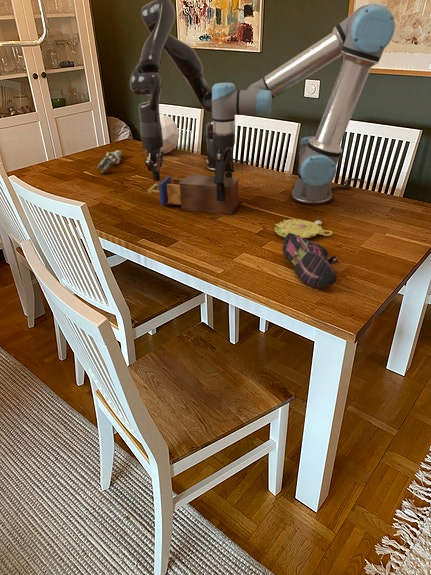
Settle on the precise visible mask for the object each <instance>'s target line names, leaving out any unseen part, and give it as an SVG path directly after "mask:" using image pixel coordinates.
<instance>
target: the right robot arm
mask: <svg viewBox="0 0 431 575" xmlns="http://www.w3.org/2000/svg"><path fill="white" fill-rule="evenodd" d="M395 29H396V20H395V18H394V15H393V13H392V12H391V10H389V9H388V8H387V7H386V6H385V5H382V4H377V3H371V4H365V5H362V6H360V7H358V8H357V9H355V10H354V11H353V12H352V13H351V14H350V15H349V16H347V17H346V18H345V19H344V20H342V21H341V22H340V23H338V24H337V25H335V26H334V27H333V29H332V32H330V33H329V34H327V35H326V36H325V37H323V38H322V39H320V40H318V41H317V42H315V43H314V44H312V45H311V46H309V47H308V48H306V49H305V50H303V51H302V52H300V53H299V54H297V55H296V56H293V57H292V58H290V60H288V61H287V62H285V63H283V64H281V65H280V66H279V67H277V68H275V69H274V70H273V71H271V72H270V73H268V74H267V75H265V76H264V77H263V78H261V79H259V80H257V81H256V82H253V83H251V84H250V85H249V86H248V87H247V88H246V89H242V90H240V89H236V85H235V84H234V83H233V82H217V83H215V84H213V86H212V88H211V89H212V114H213V122H212V123H211V125H213V132H214V134H213V144H214V145H215V146H217V147H218V148H219V150H218V152H217V154H216V155H215V158H216V163H215V171H214V176H215V180H214V183H216V185H217V201H225V186H224V177H229V178H233V173H235V172H236V170H235V163H234V160H233V159H234V152H233V148H234V147H233V146H234V145H235V144H236V133H235V132H236V116H268V115H270V114H271V113H272V100H273V99H274V98H276V97H277V96H280V95H281V94H282V93H284V92H285V91H287V90H289V89H290V88H292V87H293V86H295V85H296V84H298V83H300V82H301V81H303V80H305V79H306V78H308V77H309V76H312V75H313V74H314V73H316V72H317V71H319V70H321V69H322V68H324V67H325V66H327V65H329V64H331V63H332V62H334V61H335V60H337V59H339V58H340V57H343V60H342V63H341V65H340V69H339V71H338V74H337V76H336V79H335V82H334V85H333V88H332V90H331V93H330V96H329V98H328V100H327V103H326V107H325V109H324V112H323V114H322V117H321V120H320V123H319V125H318V128H317V130H316V133H315V135H314V136H313V135H312V136H304V137H302V138H301V139H300V142H299V143H300V144H299V157H298V168H297V178H296V181H295V184H294V185H292V187H291V189H292V192H291V199H292V200H293V201H295V202H296V203H298V204H303V205H311V206H317V205H323V204H327V203H329V202H331V201H332V198H333V194H332V193H333V192H332V190H340V189H343V190H349V189H351V188H352V185H351V184H350V183H349V182H352V181H359V182H360V183H363V182H364V181H363V179H361V178H358V177H352V178H349V179H346V180H344V181H343V185H344V186H332V187H331V183H332V182H333V181H334V179H335V177H336V174H337V165H338V163H339V160H340V158H341V155H342V152H343V149H342V146H341V143H342V141H343V138H344V136H345V133H346V130H347V128H348V126H349V123H350V120H351V118H352V116H353V113H354V111H355V109H356V106H357V104H358V101H359V99H360V96H361V93H362V91H363V88H364V86H365V83H366V81H367V78H368V76H369V74H370V71H371V69H372V68H373V67H375V65H378V64H379V62H380V60H381V58H382V55H383V53H384V50H385V48H387V47H388V45H389V44H390V43H391V41H392V39H393V36H394V34H395V31H396V30H395Z"/></svg>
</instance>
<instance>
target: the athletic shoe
mask: <svg viewBox="0 0 431 575" xmlns="http://www.w3.org/2000/svg"><path fill="white" fill-rule="evenodd" d="M285 236H286V237H284V240H283V243H282V254H283V255H284V258H285V259H286V260H287V261H289V262H290V263H292V264H293V266H294V271H295V272H294V273H295V274H296V276H297V277H298V278H299V280H300V281H301V282H302V283H303V284H305V285H307V286H311V287H316V288H324V287H327V286H332V285H333V284H335V283H336V281H337V278H338V277H337V273H336V271H335V269H334V268H333V265H335V264H341V262H339V261H338V260H339V259H338V258H337V256H336V255H332V256H331V257H329V252H328V250H327V249H326V248H325V247H324V246H322V245H321V244H319V243H317V242H315V241H311V240H308V239H307V238H305V239H303V238H300V236H297V235H296V234H293V233H288V234H287V235H285Z"/></svg>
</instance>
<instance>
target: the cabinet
mask: <svg viewBox="0 0 431 575" xmlns="http://www.w3.org/2000/svg"><path fill="white" fill-rule="evenodd" d="M183 179H184V180H183V181H182V182H181V183H180V196H181V205H180V209H181V211H186V212H187V211H188V212H198V213H208V214H218V215H227V216H232V215H233V214H234V212H235V211H236V209H237V207H238V206H239V182H240V181H239V180H240V179H239V177H232V178H229V177H225V176H224V186H225V201H217V185H216V183H214V180H215V175H213V176H212V175H199V174H188V175H187V176H186V177H184V178H183Z"/></svg>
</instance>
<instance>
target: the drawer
mask: <svg viewBox="0 0 431 575" xmlns="http://www.w3.org/2000/svg"><path fill="white" fill-rule="evenodd" d="M184 179H185V178H175V177H174V178H172V177H171V176H169V175H167V176H166V177H165V178H163V180H161V181H159V183H158V182H156V183H154V184H152V186H150V187H149V188H148V189H147V193H148V194H152V193H159V200H160V202H159V203H160V206H165V205H166V204H167V203H168V204H169V205H180V206H181V196H180V183H181V182H182V181H183V180H184ZM157 189H158V190H157Z"/></svg>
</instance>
